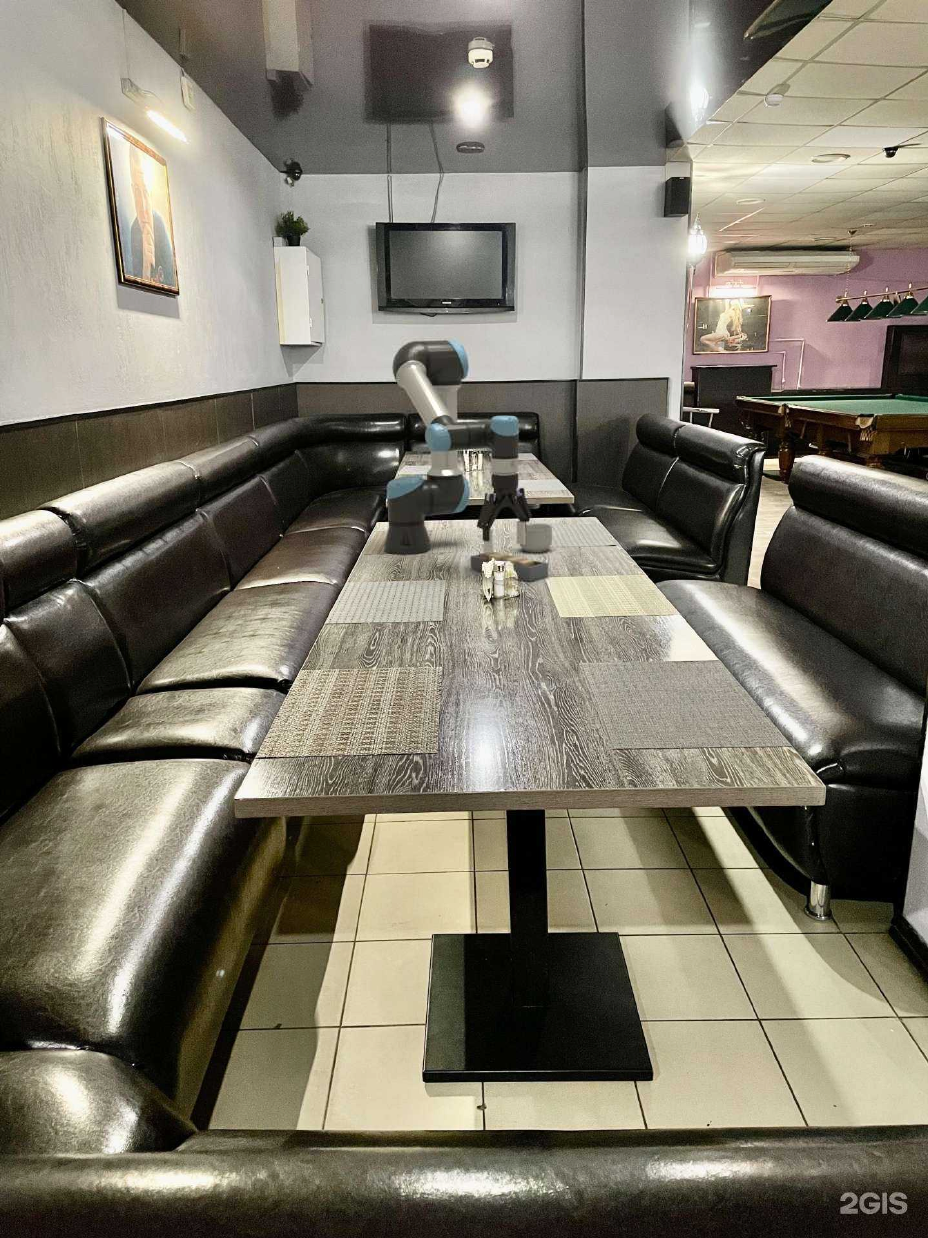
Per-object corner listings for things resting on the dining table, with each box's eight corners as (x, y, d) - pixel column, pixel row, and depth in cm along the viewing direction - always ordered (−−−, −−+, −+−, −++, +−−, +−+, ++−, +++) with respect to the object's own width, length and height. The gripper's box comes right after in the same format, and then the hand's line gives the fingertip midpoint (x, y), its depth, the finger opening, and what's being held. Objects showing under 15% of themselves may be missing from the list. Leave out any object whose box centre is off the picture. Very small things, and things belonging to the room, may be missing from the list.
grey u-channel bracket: (471, 569, 255) (470, 556, 254) (488, 565, 260) (488, 552, 259) (485, 572, 251) (485, 559, 250) (503, 568, 256) (503, 554, 255)
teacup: (553, 553, 273) (553, 528, 271) (518, 554, 273) (518, 529, 271) (549, 544, 286) (549, 520, 284) (516, 545, 287) (516, 521, 284)
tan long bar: (480, 570, 256) (480, 553, 255) (490, 567, 258) (490, 551, 257) (523, 580, 243) (523, 562, 241) (533, 577, 245) (533, 560, 244)
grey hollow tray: (547, 577, 244) (548, 563, 243) (530, 582, 239) (530, 567, 238) (531, 573, 249) (531, 560, 247) (514, 578, 244) (513, 564, 242)
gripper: (483, 479, 232) (483, 557, 238) (544, 469, 248) (543, 542, 255) (463, 477, 237) (464, 553, 243) (524, 466, 253) (524, 538, 260)
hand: (504, 547), depth 249 cm, fingers open, 13 cm apart
